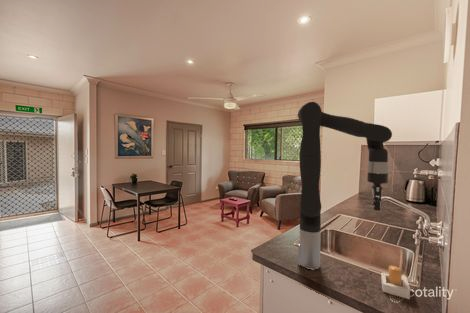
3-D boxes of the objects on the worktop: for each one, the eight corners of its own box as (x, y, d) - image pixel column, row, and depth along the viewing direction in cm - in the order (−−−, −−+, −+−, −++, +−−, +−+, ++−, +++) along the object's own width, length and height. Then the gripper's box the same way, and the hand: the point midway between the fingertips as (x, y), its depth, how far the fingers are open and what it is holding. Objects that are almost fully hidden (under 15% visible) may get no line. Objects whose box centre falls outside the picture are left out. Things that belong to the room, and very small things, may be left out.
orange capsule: (388, 289, 81) (389, 269, 81) (387, 284, 85) (388, 264, 85) (401, 293, 79) (402, 272, 79) (400, 287, 83) (400, 267, 82)
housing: (382, 291, 80) (383, 281, 80) (381, 279, 88) (381, 269, 88) (409, 299, 76) (410, 288, 76) (405, 285, 84) (405, 275, 84)
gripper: (367, 170, 102) (366, 203, 102) (367, 172, 90) (366, 210, 90) (386, 171, 98) (385, 205, 98) (389, 174, 86) (388, 213, 86)
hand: (376, 207), depth 94 cm, fingers open, 8 cm apart
